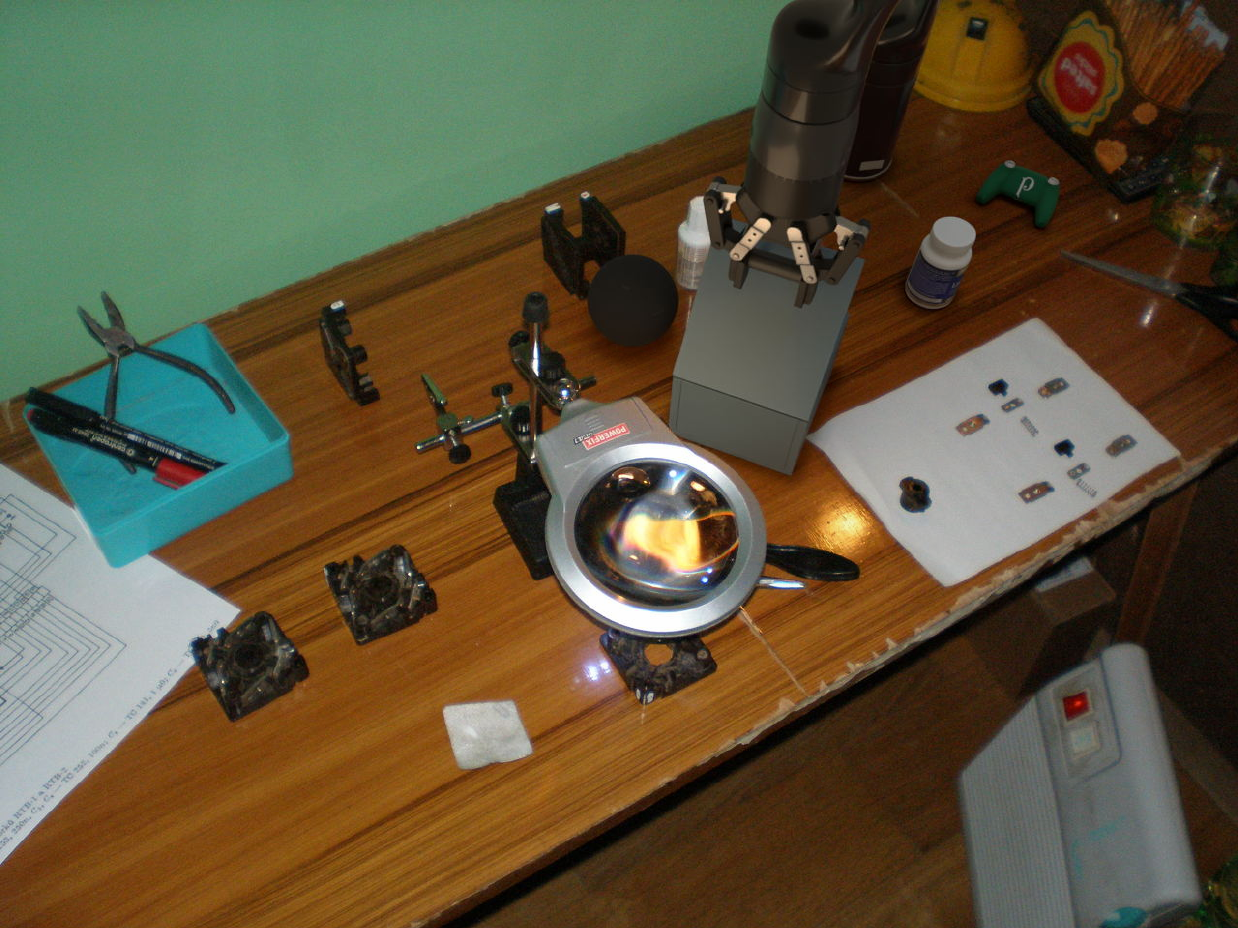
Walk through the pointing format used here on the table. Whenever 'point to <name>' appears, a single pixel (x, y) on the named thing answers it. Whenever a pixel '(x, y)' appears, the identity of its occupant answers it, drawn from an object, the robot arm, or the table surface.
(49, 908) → the table surface
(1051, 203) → the gaming controller
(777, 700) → the table surface
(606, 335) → the black ball
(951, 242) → the pill bottle
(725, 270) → the lid
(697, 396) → the grey box
